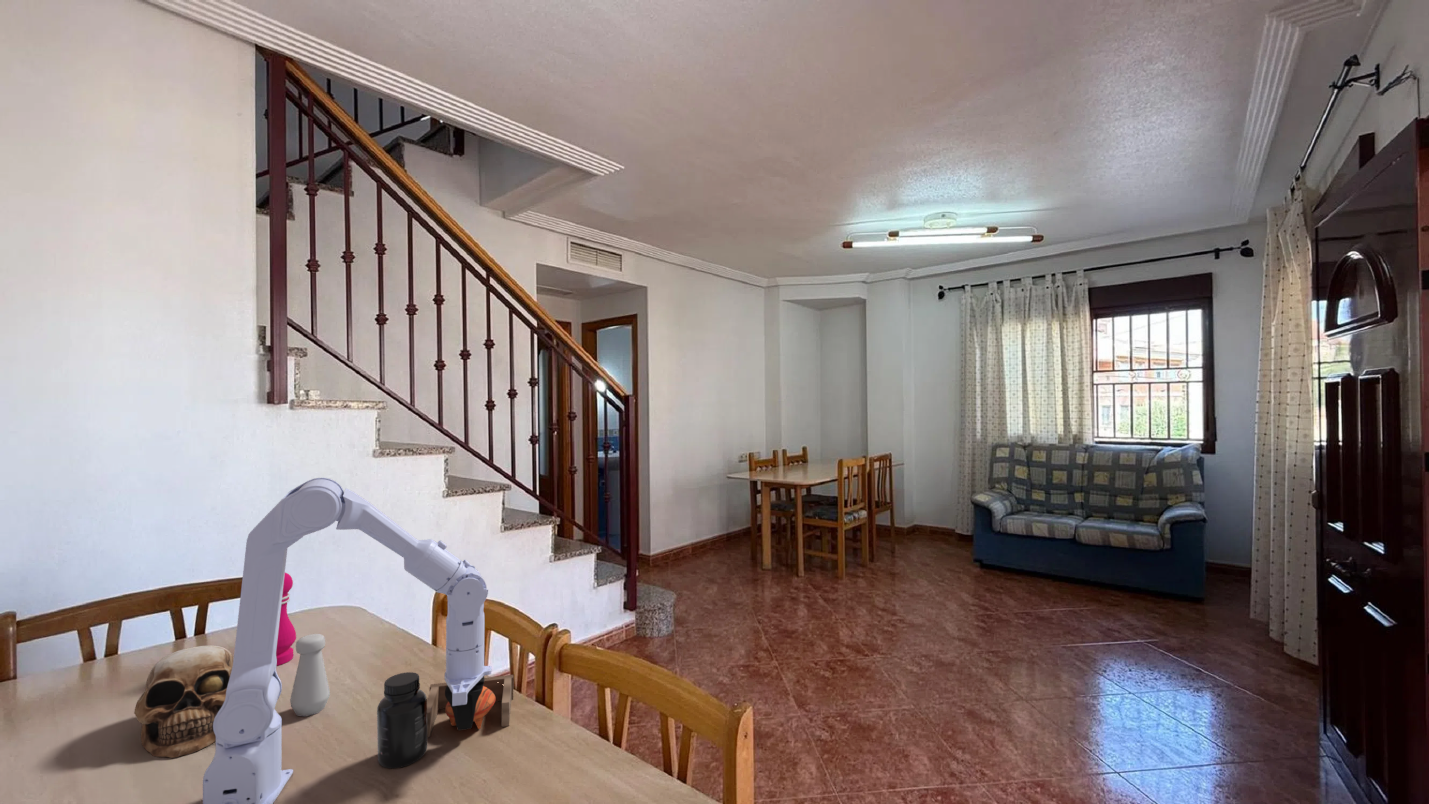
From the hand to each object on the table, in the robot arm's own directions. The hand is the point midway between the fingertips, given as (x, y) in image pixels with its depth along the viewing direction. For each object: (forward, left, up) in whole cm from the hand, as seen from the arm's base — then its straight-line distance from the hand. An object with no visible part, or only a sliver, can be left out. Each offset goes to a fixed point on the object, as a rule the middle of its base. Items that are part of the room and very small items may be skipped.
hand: (464, 727), depth 96 cm
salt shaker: (+17, +27, -2) cm, 32 cm away
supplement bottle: (-2, +9, -2) cm, 9 cm away
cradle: (+7, 0, -2) cm, 8 cm away
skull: (+16, +44, -2) cm, 47 cm away
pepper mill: (+41, +41, -2) cm, 58 cm away
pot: (+5, 0, -2) cm, 5 cm away
